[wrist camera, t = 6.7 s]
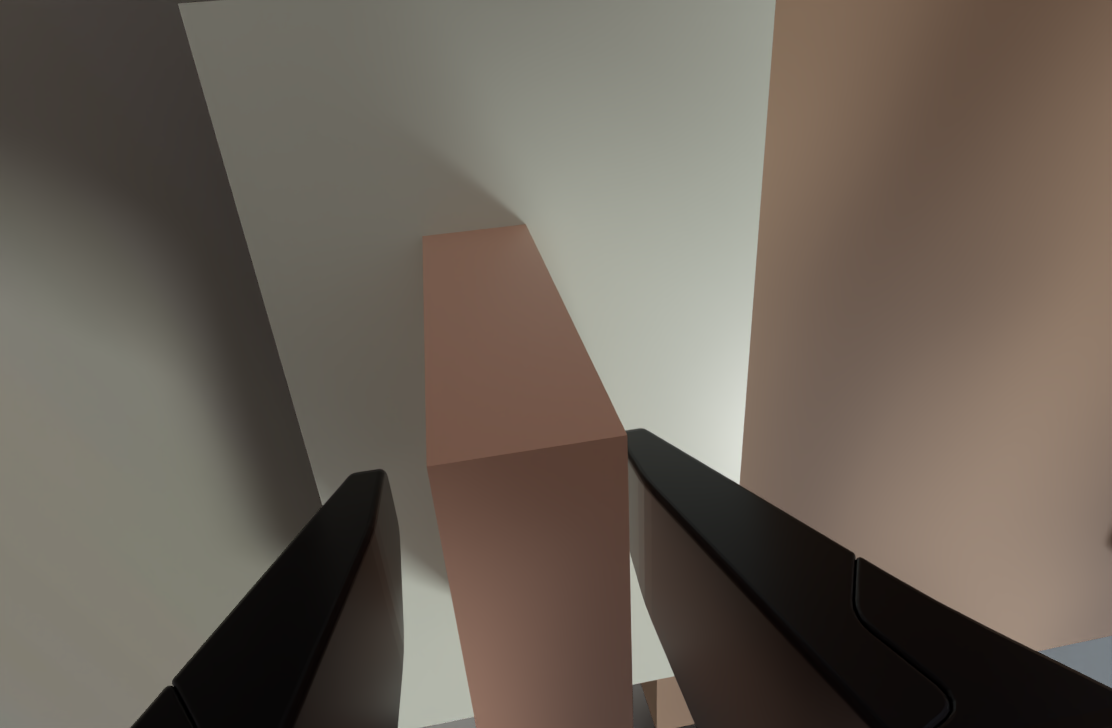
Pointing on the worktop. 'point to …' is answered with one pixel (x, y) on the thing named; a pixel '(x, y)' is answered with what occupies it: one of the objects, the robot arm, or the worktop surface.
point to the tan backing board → (940, 304)
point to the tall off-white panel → (502, 298)
